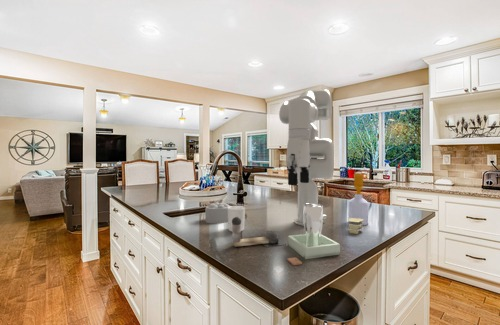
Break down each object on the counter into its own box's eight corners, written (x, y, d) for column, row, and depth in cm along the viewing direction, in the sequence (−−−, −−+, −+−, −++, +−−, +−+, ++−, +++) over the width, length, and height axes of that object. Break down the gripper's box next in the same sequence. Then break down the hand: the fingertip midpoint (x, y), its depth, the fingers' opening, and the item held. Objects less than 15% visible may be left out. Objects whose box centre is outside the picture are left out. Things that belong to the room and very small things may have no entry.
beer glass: (311, 251, 85) (312, 207, 85) (298, 245, 92) (299, 204, 91) (327, 248, 89) (327, 205, 88) (313, 242, 95) (313, 202, 94)
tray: (318, 241, 98) (318, 232, 98) (339, 254, 85) (339, 244, 85) (287, 245, 94) (287, 235, 94) (305, 259, 81) (305, 248, 81)
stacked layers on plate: (365, 237, 104) (365, 224, 104) (342, 233, 109) (342, 221, 108) (368, 231, 112) (368, 218, 112) (347, 227, 117) (347, 216, 117)
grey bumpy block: (233, 221, 127) (233, 204, 127) (209, 224, 121) (209, 206, 121) (226, 216, 136) (226, 200, 136) (202, 219, 130) (202, 203, 130)
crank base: (277, 238, 102) (277, 236, 102) (309, 263, 78) (309, 261, 78) (258, 240, 99) (258, 238, 99) (285, 266, 76) (285, 264, 76)
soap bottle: (348, 224, 122) (348, 173, 121) (348, 219, 130) (349, 172, 129) (368, 226, 118) (369, 174, 118) (367, 221, 127) (368, 172, 126)
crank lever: (275, 238, 100) (275, 212, 99) (280, 242, 95) (280, 215, 95) (230, 243, 94) (230, 215, 94) (233, 247, 90) (233, 219, 89)
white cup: (242, 232, 108) (242, 209, 108) (225, 231, 110) (225, 208, 110) (246, 227, 116) (246, 206, 116) (230, 226, 118) (230, 205, 117)
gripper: (299, 137, 98) (299, 181, 98) (277, 133, 84) (277, 185, 84) (318, 136, 93) (318, 182, 94) (298, 132, 79) (298, 187, 80)
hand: (298, 183), depth 89 cm, fingers open, 9 cm apart
